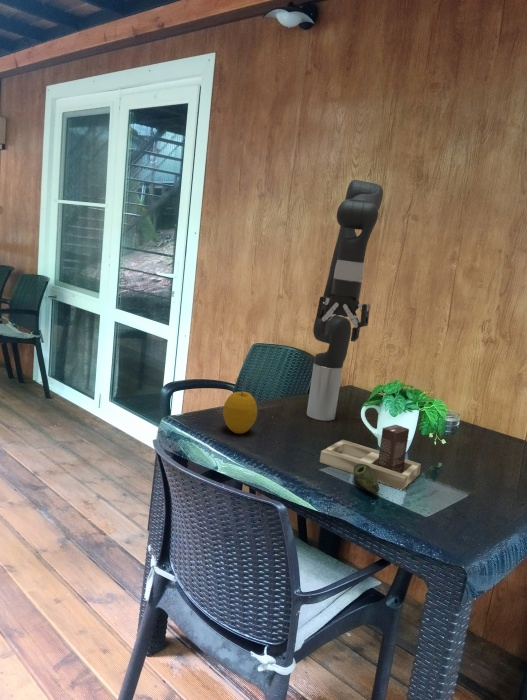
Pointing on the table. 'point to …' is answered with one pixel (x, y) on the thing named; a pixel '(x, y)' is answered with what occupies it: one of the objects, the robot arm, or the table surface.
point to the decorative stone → (366, 477)
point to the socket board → (367, 463)
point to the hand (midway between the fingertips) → (338, 338)
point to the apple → (240, 412)
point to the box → (393, 448)
